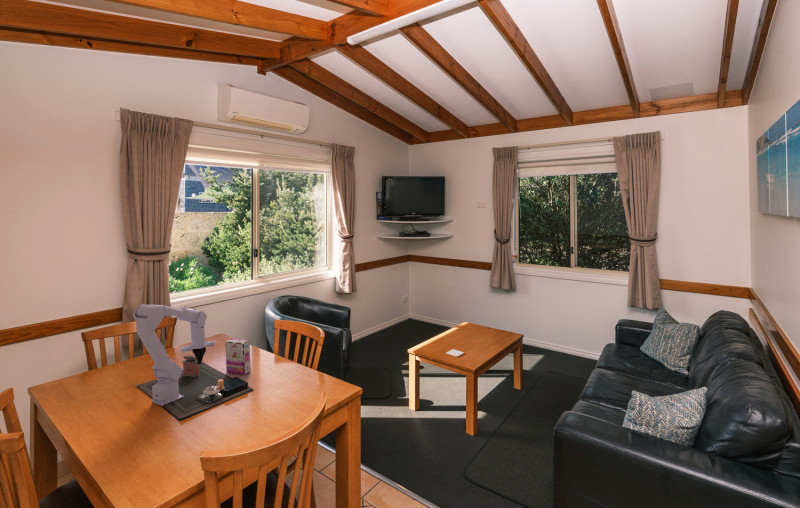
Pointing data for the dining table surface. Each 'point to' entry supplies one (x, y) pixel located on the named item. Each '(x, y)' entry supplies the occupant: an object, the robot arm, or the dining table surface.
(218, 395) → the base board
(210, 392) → the flange plate
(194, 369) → the lighter
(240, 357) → the candy bar box
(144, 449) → the dining table surface
